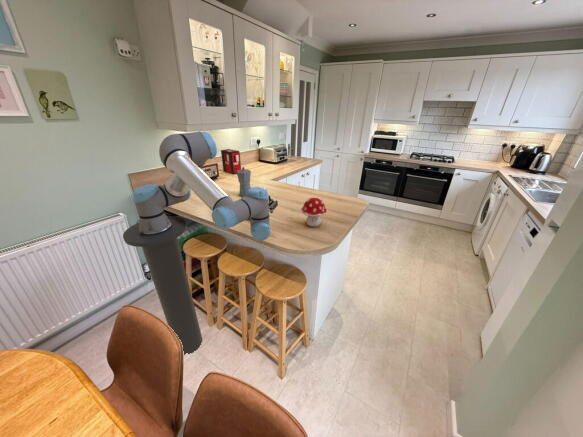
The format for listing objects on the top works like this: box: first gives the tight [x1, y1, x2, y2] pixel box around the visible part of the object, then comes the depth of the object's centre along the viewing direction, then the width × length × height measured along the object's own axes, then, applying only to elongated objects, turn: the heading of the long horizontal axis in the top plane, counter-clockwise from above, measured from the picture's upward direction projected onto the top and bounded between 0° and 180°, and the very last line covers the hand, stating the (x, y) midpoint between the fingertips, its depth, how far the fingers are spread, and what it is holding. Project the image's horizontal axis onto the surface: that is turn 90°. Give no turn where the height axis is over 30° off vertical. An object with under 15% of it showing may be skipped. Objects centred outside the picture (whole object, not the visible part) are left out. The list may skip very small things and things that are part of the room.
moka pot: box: [236, 166, 252, 198], centre depth 163 cm, size 10×15×20 cm, turn 16°
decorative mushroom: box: [300, 197, 328, 228], centre depth 123 cm, size 14×14×15 cm
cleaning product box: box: [220, 148, 242, 175], centre depth 219 cm, size 16×9×20 cm, turn 48°
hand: (255, 198), depth 119 cm, fingers open, 13 cm apart
